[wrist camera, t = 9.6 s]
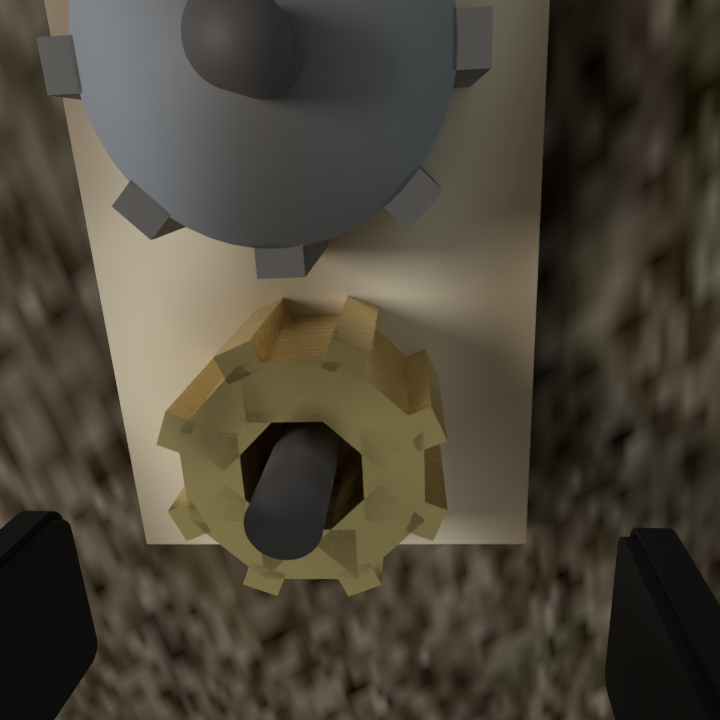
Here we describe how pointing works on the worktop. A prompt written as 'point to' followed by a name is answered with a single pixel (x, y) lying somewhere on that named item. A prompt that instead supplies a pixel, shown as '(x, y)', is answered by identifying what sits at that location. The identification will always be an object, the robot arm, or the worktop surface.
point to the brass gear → (313, 404)
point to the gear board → (370, 263)
